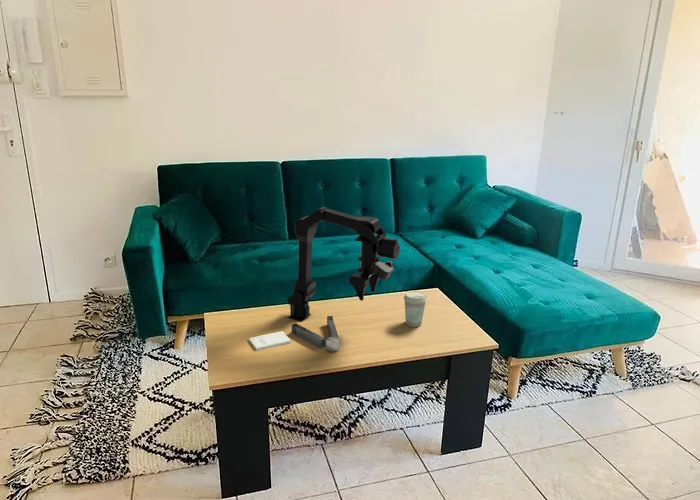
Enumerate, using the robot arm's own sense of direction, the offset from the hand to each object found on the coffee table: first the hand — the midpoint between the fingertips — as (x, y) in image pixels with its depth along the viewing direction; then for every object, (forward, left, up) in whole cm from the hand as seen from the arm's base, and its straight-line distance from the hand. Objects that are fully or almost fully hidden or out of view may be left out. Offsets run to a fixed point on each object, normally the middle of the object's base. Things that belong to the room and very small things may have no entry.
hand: (367, 295), depth 187 cm
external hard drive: (-27, -22, -15) cm, 38 cm away
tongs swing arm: (-10, -10, -14) cm, 20 cm away
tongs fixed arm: (-16, -14, -14) cm, 26 cm away
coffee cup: (+13, +15, -15) cm, 25 cm away
